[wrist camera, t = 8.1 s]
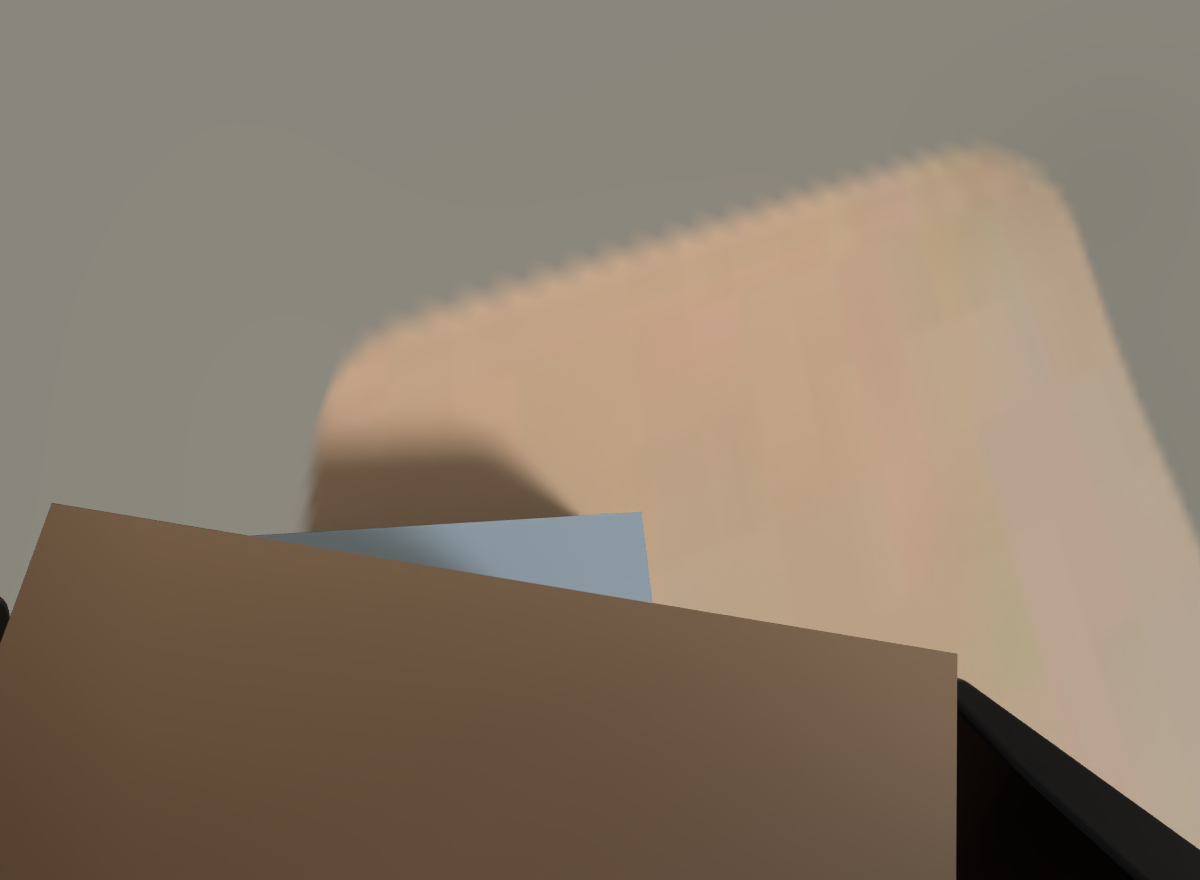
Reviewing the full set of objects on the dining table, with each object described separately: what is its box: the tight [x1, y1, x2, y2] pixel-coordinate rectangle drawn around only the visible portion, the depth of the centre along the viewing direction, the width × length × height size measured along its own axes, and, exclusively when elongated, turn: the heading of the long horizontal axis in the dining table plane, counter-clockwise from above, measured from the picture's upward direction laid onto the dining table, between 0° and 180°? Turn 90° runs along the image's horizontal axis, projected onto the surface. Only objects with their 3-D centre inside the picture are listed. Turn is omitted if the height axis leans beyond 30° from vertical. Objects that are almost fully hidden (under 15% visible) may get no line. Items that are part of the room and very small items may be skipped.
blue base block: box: [253, 512, 652, 603], centre depth 17 cm, size 9×9×4 cm
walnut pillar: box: [0, 503, 957, 880], centre depth 9 cm, size 4×4×12 cm
